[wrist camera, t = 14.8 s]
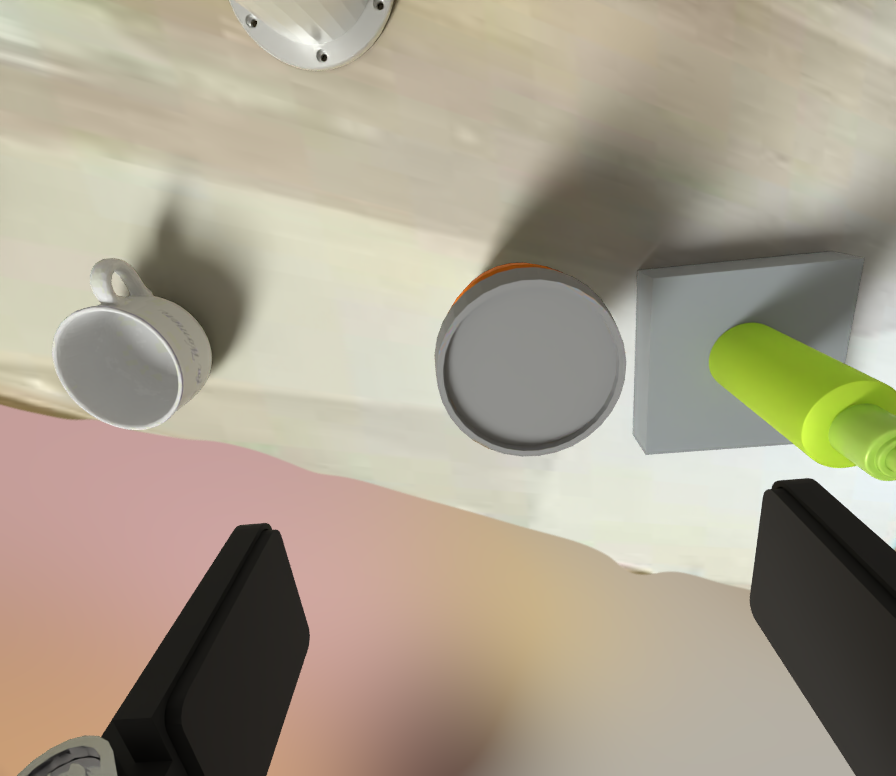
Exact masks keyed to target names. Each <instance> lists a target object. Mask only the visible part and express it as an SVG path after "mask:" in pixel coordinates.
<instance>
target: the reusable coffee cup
mask: <svg viewBox="0 0 896 776" xmlns="http://www.w3.org/2000/svg"><path fill="white" fill-rule="evenodd" d="M435 367H436V377H437V384H438V389H439V392H440V396H441V399H442V403H443V404H444V406H445V408H446V410H447V412H448V414H449V416H450V417H451V419H452V420H453V421H454V422H455V424H456V425H457V426H458V427H459V428H460V430H461V431H463V432H464V433H465V434H466V435H468V436H469V437H470V438H471V439H472V440H474V441H475V442H477V443H479V444H481V445H483V446H485V447H486V448H488V449H491V450H494V451H497V452H500V453H503V454H509V455H516V456H540V455H545V454H550V453H555V452H558V451H561V450H563V449H566V448H568V447H571V446H573V445H575V444H576V443H578V442H580V441H581V440H583V439H585V438H586V437H588V436H589V435H590V434H591V433H592V432H594V431H595V430H596V429H597V428H598V427H599V426H600V425H601V424H602V423H603V422H604V421H605V419H606V418H607V417H608V416H609V414H610V413H611V412H612V410H613V408H614V406H615V404H616V402H617V401H618V399H619V397H620V394H621V391H622V387H623V384H624V380H625V371H626V356H625V349H624V343H623V340H622V338H621V335H620V332H619V330H618V327H617V325H616V323H615V321H614V319H613V317H612V316H611V314H610V312H609V311H608V309H607V308H606V306H605V304H604V303H603V301H602V300H601V299H600V298H599V297H598V296H597V295H596V294H595V293H594V292H593V291H592V290H591V289H590V288H589V287H588V286H587V285H585V284H584V283H582V282H580V281H579V280H577V279H576V278H574V277H572V276H570V275H567V274H564V273H563V272H560V271H558V270H555V269H552V268H549V267H546V266H542V265H537V264H530V263H508V264H505V265H501V266H497V267H494V268H492V269H490V270H488V271H486V272H484V273H482V274H481V275H479V276H478V277H477V278H475V279H474V280H473V281H472V282H471V283H470V284H469V285H468V286H467V287H466V288H465V289H464V290H463V292H462V293H461V294H460V295H459V296H458V297H457V299H456V300H455V302H454V304H453V305H452V307H451V309H450V310H449V312H448V314H447V316H446V317H445V319H444V321H443V323H442V326H441V328H440V331H439V334H438V337H437V342H436V349H435Z"/></svg>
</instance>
